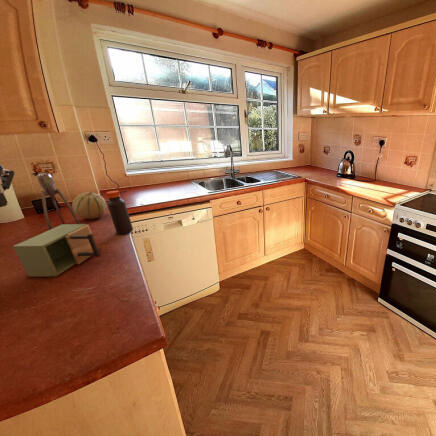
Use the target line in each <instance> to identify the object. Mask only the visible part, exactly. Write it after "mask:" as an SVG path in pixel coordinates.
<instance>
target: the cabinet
mask: <svg viewBox="0 0 436 436" xmlns="http://www.w3.org/2000/svg"><path fill="white" fill-rule="evenodd" d="M84 227H88V230H89V232H90V233H92V230H91V228H90V224H87V223H80V224H77V223H73V224H69V223H68V224H67V223H65V224H62V223H61V224H59V225H58V226H55V227H52V229H51V230H49V229H48V230H46V231H43V233H40V234H38V235H35V236H32V237H30V238H28V239H26V240H24V241H22V242H19V243H17V244H15V245H12V247H13V249H14V251H15V253H16V255H17V257H18V259H19V261H20V263H21V265H22V266H23V269H24V270H25V272H26V274H27V276H28V277H29V278H30V277H58V276H59V275H61V274H62V273H64V272H65V271H67V270H69V269H70V268H72V267H73V266H75V265H77V264H76V261H75V259H74V257H73V254H72V252H71V249H70V247H69V245H68V242H67V240H66V238H65V237H66V236H68V235H70V234H72V233H74V232H76V231H78V230H80V229H82V228H84ZM92 234H93V233H92Z"/></svg>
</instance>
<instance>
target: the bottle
mask: <svg viewBox="0 0 436 436" xmlns="http://www.w3.org/2000/svg"><path fill="white" fill-rule="evenodd" d="M105 193H106V197H107V200H108V202H107V203H106V206H107V208H108V211H109V215H110V218H111V220H112V223H113V227H114V229H115V232H116V234H117V235H126V234H130V233H132V232H133V231H134V227H133V224H132V221H131V218H130V214H129V211H128V208H127V205H126V201H125V200H124V199H122V198H121V193H120V190H111V191H110V190H109V191H106V192H105Z"/></svg>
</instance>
